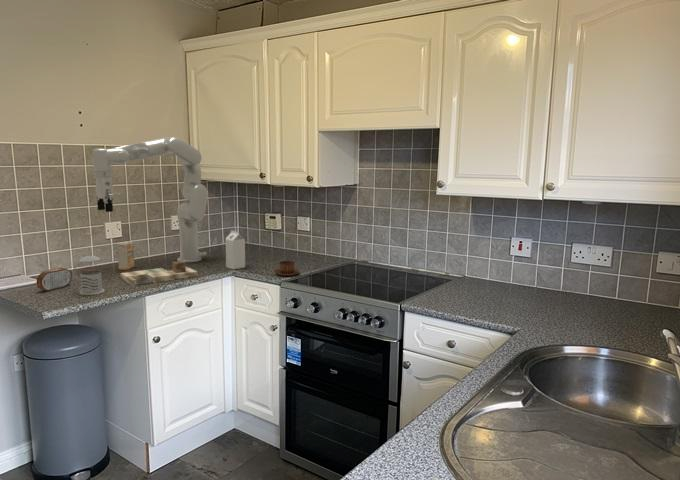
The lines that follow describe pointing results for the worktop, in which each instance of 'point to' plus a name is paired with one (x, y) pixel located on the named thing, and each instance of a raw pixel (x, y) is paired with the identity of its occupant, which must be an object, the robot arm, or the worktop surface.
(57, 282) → the brown grey rounded block
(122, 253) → the supplement box
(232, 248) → the milk carton
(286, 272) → the cup and saucer
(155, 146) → the robot arm
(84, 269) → the french press
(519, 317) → the worktop surface
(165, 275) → the trap board
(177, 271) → the walnut block
